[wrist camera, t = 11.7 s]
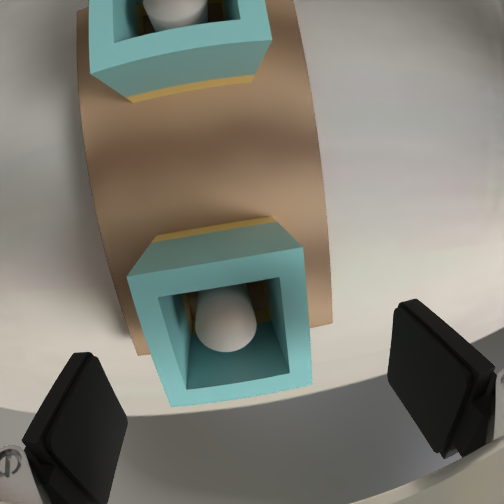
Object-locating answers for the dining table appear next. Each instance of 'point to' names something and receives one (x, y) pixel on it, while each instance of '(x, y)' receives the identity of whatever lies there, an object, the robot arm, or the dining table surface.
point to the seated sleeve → (175, 49)
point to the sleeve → (214, 276)
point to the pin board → (208, 168)
